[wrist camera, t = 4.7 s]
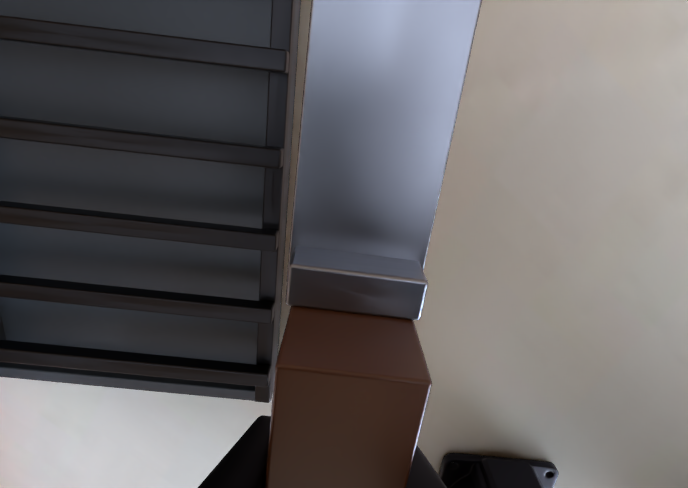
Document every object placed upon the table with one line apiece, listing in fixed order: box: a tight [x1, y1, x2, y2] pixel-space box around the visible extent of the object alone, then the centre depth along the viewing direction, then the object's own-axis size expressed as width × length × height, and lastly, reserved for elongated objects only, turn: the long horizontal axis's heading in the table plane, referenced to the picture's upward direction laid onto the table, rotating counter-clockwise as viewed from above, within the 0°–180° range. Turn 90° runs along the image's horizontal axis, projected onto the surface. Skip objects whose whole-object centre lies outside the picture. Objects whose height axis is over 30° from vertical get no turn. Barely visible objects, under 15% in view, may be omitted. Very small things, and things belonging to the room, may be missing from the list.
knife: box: [265, 0, 482, 488], centre depth 6 cm, size 21×3×3 cm, turn 173°
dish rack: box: [0, 0, 301, 403], centre depth 15 cm, size 24×14×3 cm, turn 174°
